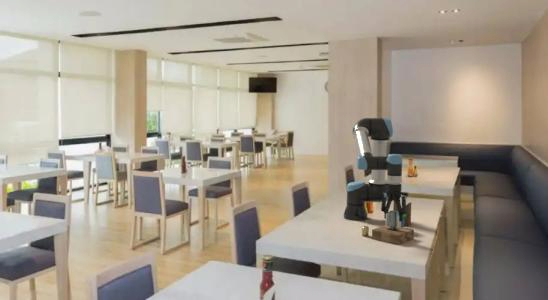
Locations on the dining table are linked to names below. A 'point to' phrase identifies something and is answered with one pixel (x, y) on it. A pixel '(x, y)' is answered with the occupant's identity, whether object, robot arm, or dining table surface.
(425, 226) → the dining table surface
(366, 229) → the short brass pin
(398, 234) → the hole block
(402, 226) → the snack cup
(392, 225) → the long steel pin
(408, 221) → the brown forked bracket
